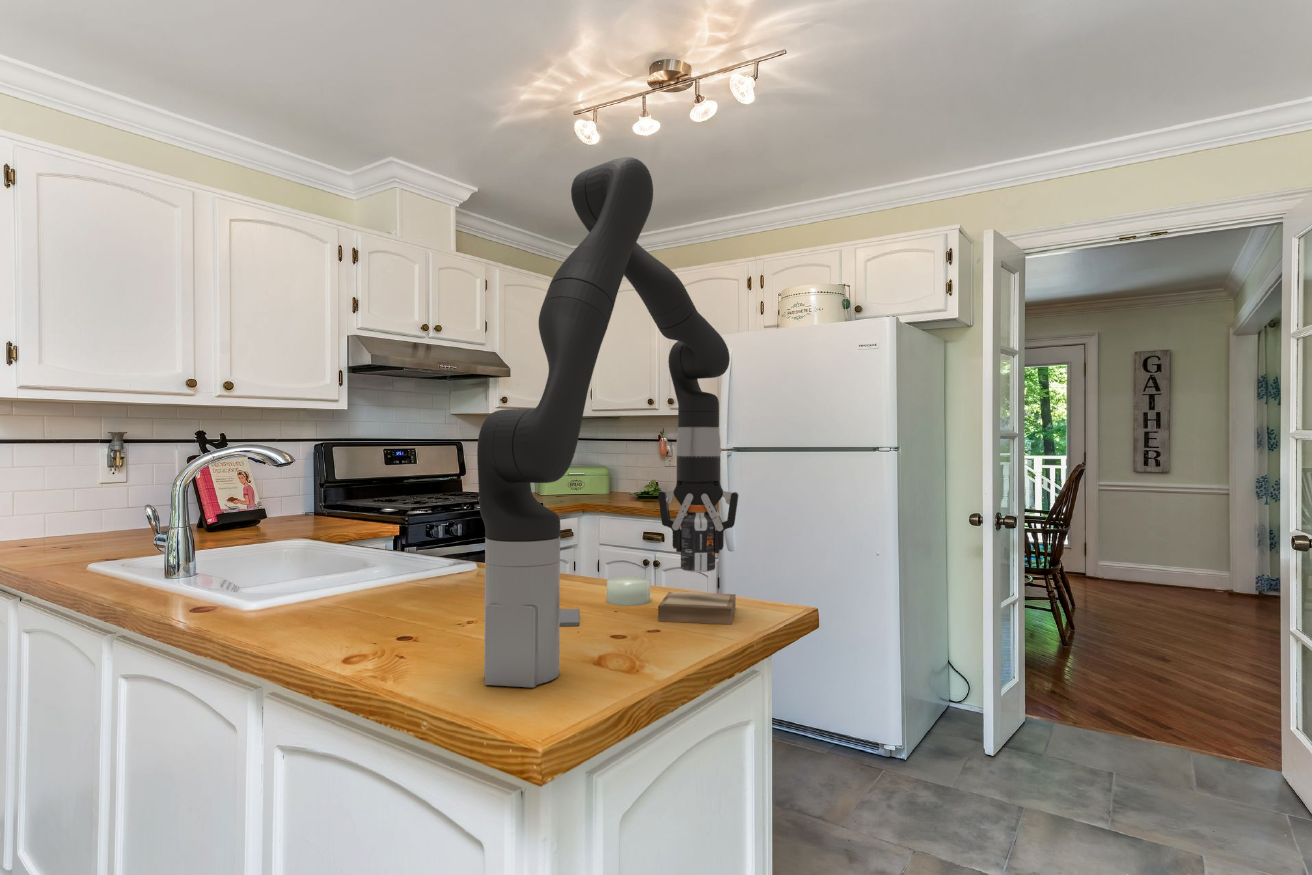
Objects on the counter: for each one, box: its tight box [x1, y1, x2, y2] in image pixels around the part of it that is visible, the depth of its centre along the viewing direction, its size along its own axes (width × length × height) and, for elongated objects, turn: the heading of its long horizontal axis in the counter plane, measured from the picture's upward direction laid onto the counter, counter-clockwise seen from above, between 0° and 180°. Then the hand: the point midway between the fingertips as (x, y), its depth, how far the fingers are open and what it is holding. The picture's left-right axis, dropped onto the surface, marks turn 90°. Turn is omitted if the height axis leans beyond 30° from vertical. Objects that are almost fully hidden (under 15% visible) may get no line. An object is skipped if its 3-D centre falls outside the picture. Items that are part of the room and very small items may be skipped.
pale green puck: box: [606, 576, 651, 607], centre depth 138 cm, size 8×8×4 cm
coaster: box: [560, 608, 580, 627], centre depth 123 cm, size 10×10×1 cm
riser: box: [657, 591, 737, 625], centre depth 127 cm, size 12×12×3 cm
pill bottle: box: [680, 505, 716, 573], centre depth 127 cm, size 6×6×11 cm
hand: (698, 551), depth 127 cm, fingers closed on pill bottle, 6 cm apart
